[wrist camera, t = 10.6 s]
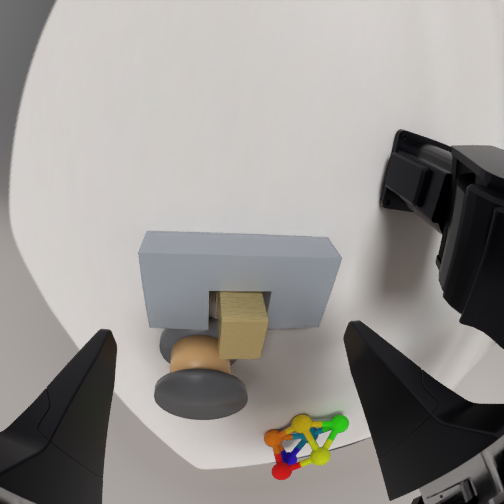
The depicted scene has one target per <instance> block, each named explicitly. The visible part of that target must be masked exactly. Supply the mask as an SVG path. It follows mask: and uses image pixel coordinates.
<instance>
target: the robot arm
mask: <svg viewBox="0 0 504 504" xmlns="http://www.w3.org/2000/svg"><path fill="white" fill-rule="evenodd" d="M402 134H404V137H403V138H401V136H402ZM448 151H449V152H448ZM386 200H388V201H387V203H385V202H386ZM380 204H381V205H382V206H383V207H384V208H388V209H395V210H403V211H410V212H415V213H416V214H418V215H419V216H420V217H421V218H423V219H424V220H425V221H426V222H427V223H429V224H430V225H431V226H432V227H434V228H435V229H436V230H437V231H438V232H439V233H441V234H442V240H441V245H440V250H439V255H437V258H436V265H437V267H438V269H439V282H440V285H441V288H442V290H443V298H444V299H445V300H446V301H447V303H448V304H449V305H450V306H451V307H452V308H454V309H455V310H456V311H457V312H459V313H460V314H462V315H461V317H460V320H459V322H460V323H461V324H464V325H468V326H471V327H474V328H476V329H478V330H480V331H482V332H484V333H485V334H487V335H488V336H489V337H491V338H492V339H493V340H494V341H495V342H496V343H497V344H498V345H499V346H500V347H502V348H503V349H504V150H502V149H499V148H497V147H494V146H479V145H465V146H451V147H450V146H448V145H445V144H442V143H440V142H437V141H434V140H432V139H429V138H426V137H423V136H420V135H417V134H415V133H411V132H408V131H405V130H401V129H400V130H398V131H397V133H396V137H395V142H394V147H393V151H392V154H391V158H390V162H389V167H388V171H387V175H386V179H385V184H384V188H383V192H382V196H381V199H380ZM344 344H345V348H346V352H347V357H348V361H349V366H350V370H351V374H352V377H353V380H354V383H355V386H356V389H357V392H358V395H359V398H360V401H361V404H362V407H363V410H364V414H365V417H366V420H367V423H368V426H369V430H370V433H371V436H372V439H373V443H374V446H375V449H376V453H377V456H378V459H379V464H380V467H381V471H382V474H383V478H384V482H385V486H386V489H387V493H388V497H389V500H390V501H391V500H394V499H396V498H398V497H401V496H403V495H406V494H407V493H410V492H412V491H414V490H416V489H418V488H419V489H420V492H421V496H419V497H417V498H415V499H413V501H412V503H411V504H504V404H477V403H472V402H470V401H467V400H466V399H464V398H462V397H461V396H459V395H458V394H456V393H455V392H453V391H452V390H450V389H449V388H447V387H445V386H444V385H443V384H441V383H440V382H438V381H437V380H435V379H434V378H433V377H431V376H430V375H429V374H427V373H426V372H425V371H424V370H421V368H420V367H419V366H417V365H416V364H415V363H414V362H412V361H411V360H410V359H408V358H407V357H406V356H405V355H403V354H402V353H401V352H400V351H398V350H397V349H396V348H394V347H393V346H392V345H391V344H389V343H388V342H387V341H386V340H384V339H383V338H382V337H380V336H379V335H378V334H377V333H375V332H374V331H373V330H371V329H370V328H369V327H368V326H366V325H365V324H364V323H362V322H361V321H359V320H357V321H351V322H349V324H348V326H347V329H346V332H345V334H344ZM116 355H117V344H116V342H115V339H114V337H113V334H112V332H111V330H109V329H100V330H99V331H98V332H97V333H96V334H95V335H94V336H93V337H92V338H91V339H90V340H89V341H88V342H87V343H86V344H85V346H84V347H83V348H82V349H81V350H80V351H79V352H78V353H77V354H76V355H75V356H74V358H73V359H72V360H71V361H70V362H69V363H68V364H67V365H66V366H65V367H64V368H63V370H62V371H61V372H60V373H59V374H58V375H57V376H56V377H55V378H54V380H53V381H52V382H51V383H50V384H49V385H48V386H47V389H45V390H44V391H43V392H42V393H41V395H39V397H38V398H37V399H36V400H35V401H34V402H33V403H32V404H31V405H30V406H29V407H28V408H27V409H26V410H25V411H24V412H23V413H22V414H21V415H20V416H19V417H18V418H17V419H16V420H15V421H14V422H13V423H12V424H11V425H10V426H9V427H7V428H6V429H5V430H4V431H2V432H0V504H102V487H103V479H102V478H103V470H104V458H105V447H106V438H107V429H108V422H109V415H110V408H111V402H112V396H113V390H114V382H115V368H116Z"/></svg>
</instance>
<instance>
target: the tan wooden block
mask: <svg viewBox="0 0 504 504" xmlns="http://www.w3.org/2000/svg"><path fill="white" fill-rule="evenodd" d="M216 313H217V332H218V350H219V359H260V356H261V352H262V348H263V343H264V339H265V335H266V331H267V326H268V322H269V321H268V316H267V312H266V308H265V304H264V300H263V295H262V291H217V299H216Z"/></svg>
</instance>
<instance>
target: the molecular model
mask: <svg viewBox="0 0 504 504" xmlns="http://www.w3.org/2000/svg"><path fill="white" fill-rule="evenodd" d="M348 425H349V421H348V419H347V417H345V416H343V415H337V416H334V417H333V418H332V419H331V421H312V420H311V418H310V417H309V416H307V415H298V416H296V417H295V418H294V419H293V421H292V426H291V427H289V428H287V429H285V430H283V431H281V432H279V431H277V430H270V431H268V432H267V433H266V434H265V437H264V441H265V443H266V444H267V445H268V446H270V447H273V451H274V455H275V460H276V465H275V466H274V467H273V468H272V475H273V476H274V478H276V479H278V480H285V479H287V478H288V477H290V475H291V473H292V471H293V470H295V469H298V468H301V467H303V466H306V465H308V464H311V463H313V464H315V465H324V464H326V463H327V462H328V460H329V459H330V452H329V450H328V449H329V447H330V445H331V444H332V442H333V440H334V439H335V437H336V435H337V433H341V432H344V431H345V430H346V429H347V428H348ZM315 427H322V428H319V429H316V428H315ZM330 430H332V431H331V433H330V435H329V437H328V438H327V440H326V442H325V443H324V445H323V447H319V446H318V444H317V442H316V439H317V437H318V434H321V433H324V432H327V431H330ZM294 431H295V432H297V433H296V434H290V433H292V432H294ZM300 438H301V439H302V440H301V441H300V442H299V443H298V445H297V446H296V447H295V448H294V449H293V451H292V452H291V453H290V452H287V453H286V451H285V450H284V448H283V447H282V445H281V443H282V441H283V440H292V439H300ZM306 443H309V444H310V446H311V448H312V450H313V451H312V452H311V454H310V458H308V459H305V460H303V461H300V462H298V463H296V462H297V457H296V454H297V453H298V452H299V451H300V450H301V449H302V447H303V446H304V445H305V444H306Z"/></svg>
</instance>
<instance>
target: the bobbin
mask: <svg viewBox="0 0 504 504" xmlns="http://www.w3.org/2000/svg"><path fill="white" fill-rule="evenodd" d="M160 351H161V354H162V356H163V357H164V359H165V360H166V361H167V362H168V363H170V373H169V374H167V375H165V376H163V377H162V378H160V379H159V380H158V381H157V383H156V385H155V393H154V398H155V401H156V403H157V404H158V405H159V406H160V407H161V408H162V409H163V410H165V411H167V412H168V413H171V414H173V415H176V416H179V417H183V418H187V419H195V420H211V419H219V418H223V417H227V416H230V415H232V414H235V413H237V412H238V411H240V410H241V409H242V408H243V407H244V406H245V405H246V403H247V400H248V397H247V390H246V386H245V384H244V383H243V382H242V381H241V380H240V379H238V378H237V377H235V376H233V375H231V369H230V365H232V364H233V363H234V362H235V361H236V360H237V359H219V350H218V332H217V319H214V318H208V330H205V329H170V328H165V330H164V331H163V333H162V335H161V339H160Z"/></svg>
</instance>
